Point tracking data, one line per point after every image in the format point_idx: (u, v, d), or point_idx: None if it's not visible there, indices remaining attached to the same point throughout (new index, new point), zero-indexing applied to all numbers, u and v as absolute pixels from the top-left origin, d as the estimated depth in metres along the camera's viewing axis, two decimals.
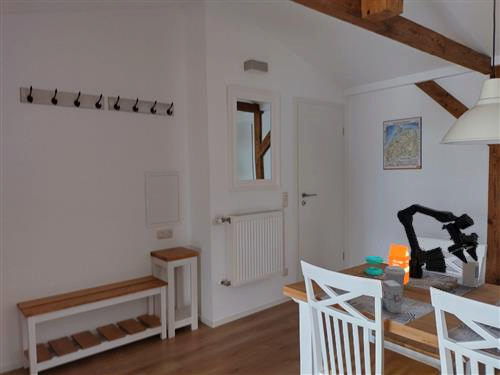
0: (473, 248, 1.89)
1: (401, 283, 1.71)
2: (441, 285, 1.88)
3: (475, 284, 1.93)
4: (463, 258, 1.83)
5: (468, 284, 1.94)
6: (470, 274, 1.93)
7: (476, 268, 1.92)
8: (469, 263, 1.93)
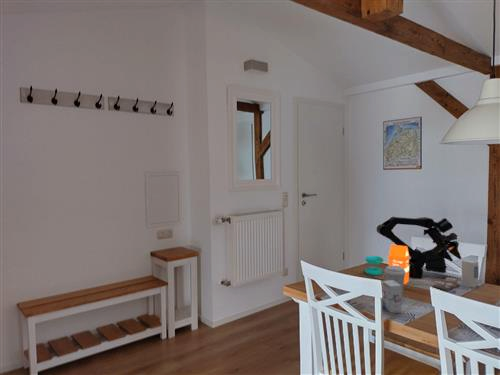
0: (455, 247, 2.07)
1: (401, 283, 1.71)
2: (441, 285, 1.88)
3: (475, 284, 1.92)
4: (448, 257, 1.99)
5: (468, 284, 1.94)
6: (469, 274, 1.93)
7: (475, 268, 1.92)
8: (468, 263, 1.93)
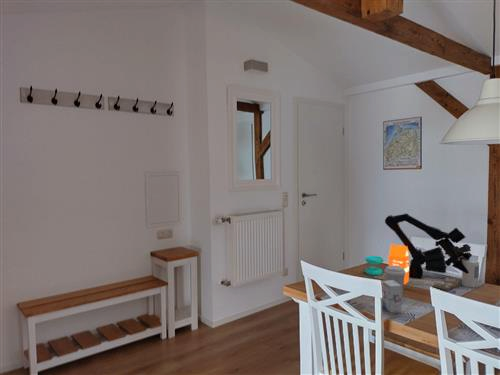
0: None
1: (401, 283, 1.71)
2: (441, 285, 1.88)
3: (475, 284, 1.92)
4: (463, 268, 1.95)
5: (468, 284, 1.94)
6: (470, 274, 1.93)
7: (476, 268, 1.92)
8: (469, 263, 1.94)
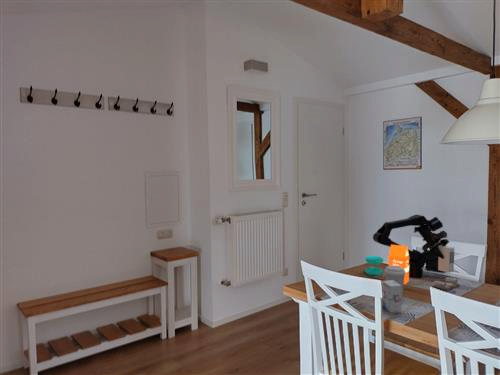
0: None
1: (401, 283, 1.71)
2: (441, 285, 1.88)
3: (450, 269, 1.99)
4: (439, 254, 2.01)
5: (443, 269, 2.01)
6: (445, 259, 2.00)
7: (451, 253, 1.98)
8: (444, 248, 2.00)
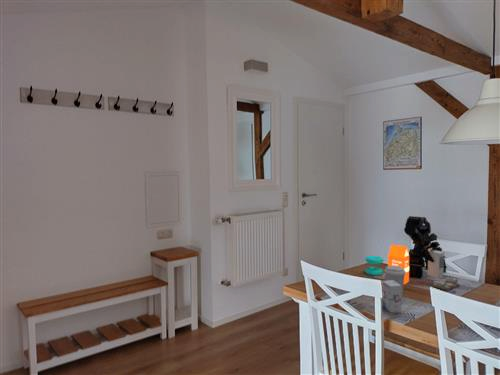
0: (433, 249, 2.01)
1: (401, 283, 1.71)
2: (441, 285, 1.88)
3: (439, 274, 1.94)
4: (429, 257, 1.96)
5: (433, 274, 1.96)
6: (435, 264, 1.95)
7: (441, 258, 1.93)
8: (434, 253, 1.95)
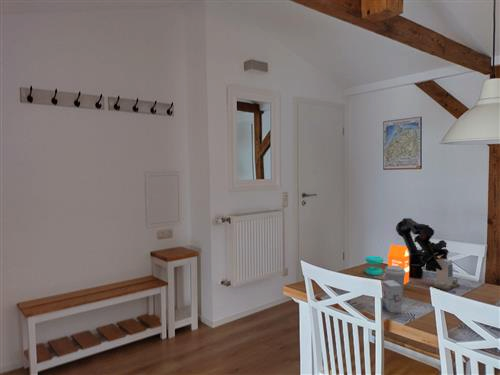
0: (444, 256, 1.98)
1: (401, 283, 1.71)
2: (441, 285, 1.88)
3: (449, 283, 1.90)
4: (437, 265, 1.91)
5: None
6: (444, 272, 1.91)
7: (449, 266, 1.90)
8: (442, 261, 1.92)
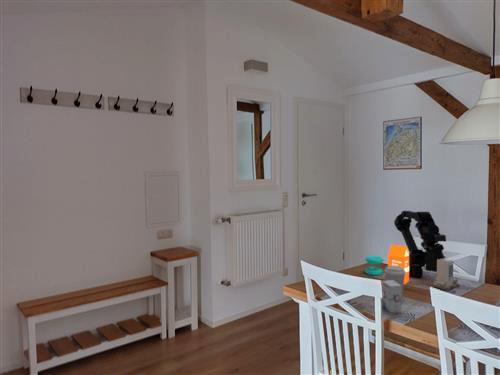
0: None
1: (401, 283, 1.71)
2: (441, 285, 1.88)
3: (449, 283, 1.90)
4: (440, 257, 1.97)
5: None
6: (444, 272, 1.91)
7: (450, 267, 1.90)
8: (443, 262, 1.92)
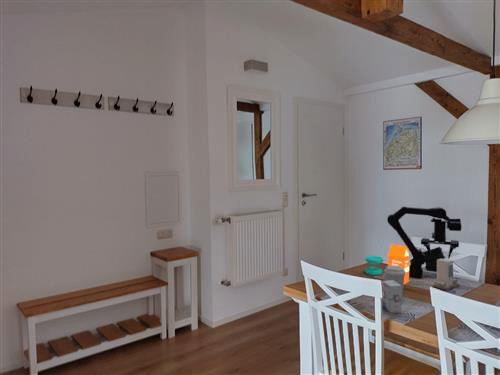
0: (429, 245, 2.12)
1: (401, 283, 1.71)
2: (441, 285, 1.88)
3: (449, 283, 1.90)
4: (450, 254, 2.05)
5: None
6: (444, 272, 1.91)
7: (450, 267, 1.90)
8: (443, 262, 1.91)
